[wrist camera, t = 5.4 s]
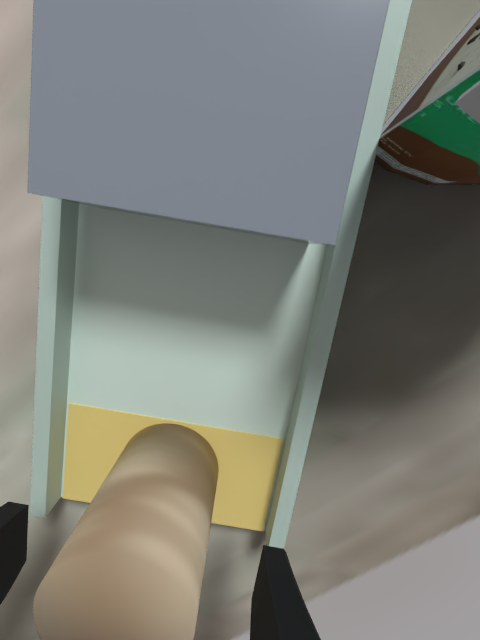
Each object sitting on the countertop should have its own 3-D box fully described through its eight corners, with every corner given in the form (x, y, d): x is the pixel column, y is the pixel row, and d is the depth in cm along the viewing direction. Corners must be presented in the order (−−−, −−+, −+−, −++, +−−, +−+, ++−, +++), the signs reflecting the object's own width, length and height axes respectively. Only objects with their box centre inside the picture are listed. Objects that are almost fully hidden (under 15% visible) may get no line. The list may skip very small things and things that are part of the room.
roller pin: (225, 432, 14) (206, 569, 8) (211, 517, 15) (183, 694, 9) (126, 415, 14) (35, 540, 8) (117, 501, 15) (30, 668, 9)
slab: (355, 14, 11) (414, -112, 7) (308, 243, 12) (334, 244, 9) (115, -28, 11) (39, -178, 7) (97, 207, 12) (27, 192, 9)
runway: (391, 4, 12) (423, -49, 10) (277, 515, 16) (281, 557, 14) (91, -48, 12) (55, -114, 9) (59, 479, 16) (29, 516, 14)
